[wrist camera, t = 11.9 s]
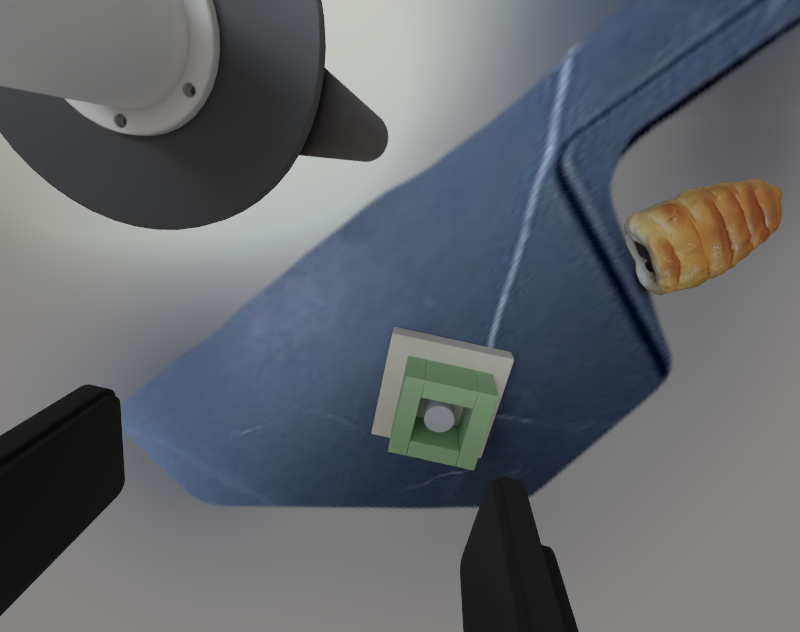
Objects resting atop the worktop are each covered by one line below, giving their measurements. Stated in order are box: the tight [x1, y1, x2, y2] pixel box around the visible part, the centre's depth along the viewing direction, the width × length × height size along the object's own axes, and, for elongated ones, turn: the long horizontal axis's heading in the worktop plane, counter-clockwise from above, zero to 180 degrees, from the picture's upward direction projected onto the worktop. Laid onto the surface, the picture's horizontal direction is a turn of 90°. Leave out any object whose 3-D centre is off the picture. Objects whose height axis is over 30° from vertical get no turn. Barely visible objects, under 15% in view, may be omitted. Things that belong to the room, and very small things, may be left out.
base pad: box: [371, 327, 514, 458], centre depth 33 cm, size 10×10×4 cm
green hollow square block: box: [388, 356, 498, 470], centre depth 32 cm, size 7×7×4 cm
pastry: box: [624, 179, 782, 295], centre depth 27 cm, size 9×7×4 cm
